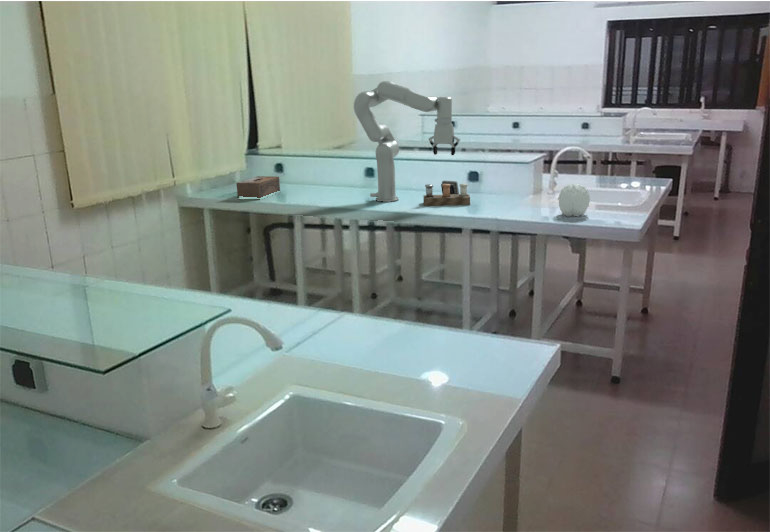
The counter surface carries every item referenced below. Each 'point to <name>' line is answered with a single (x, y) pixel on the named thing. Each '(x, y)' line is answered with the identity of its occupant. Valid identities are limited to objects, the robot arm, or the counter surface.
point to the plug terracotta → (446, 190)
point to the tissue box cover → (258, 186)
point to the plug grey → (429, 190)
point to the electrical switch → (451, 186)
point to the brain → (574, 200)
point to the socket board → (446, 200)
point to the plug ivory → (463, 189)
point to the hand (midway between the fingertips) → (444, 154)
